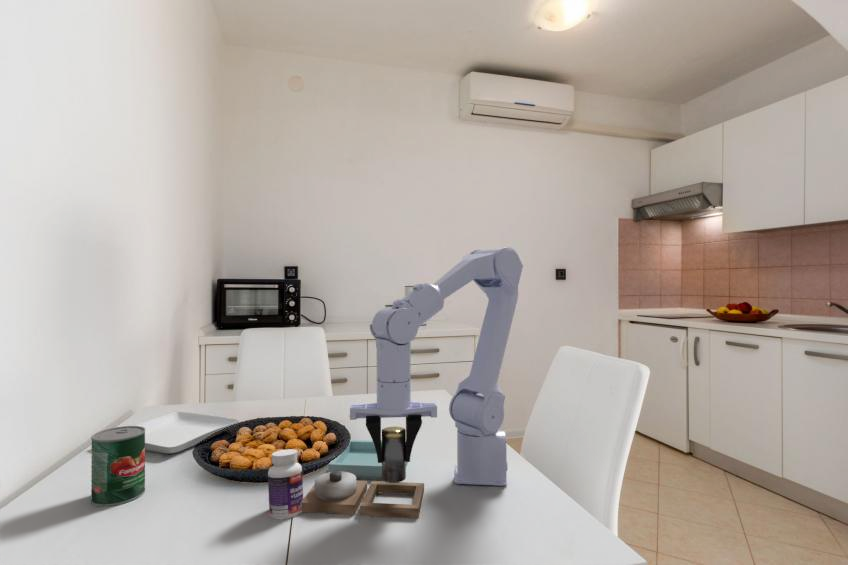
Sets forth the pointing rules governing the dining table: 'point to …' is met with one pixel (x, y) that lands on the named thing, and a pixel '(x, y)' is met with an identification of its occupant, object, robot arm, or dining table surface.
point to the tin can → (393, 454)
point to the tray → (359, 460)
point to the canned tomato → (118, 465)
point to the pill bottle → (285, 485)
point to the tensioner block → (360, 496)
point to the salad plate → (181, 430)
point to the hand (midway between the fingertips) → (393, 460)
